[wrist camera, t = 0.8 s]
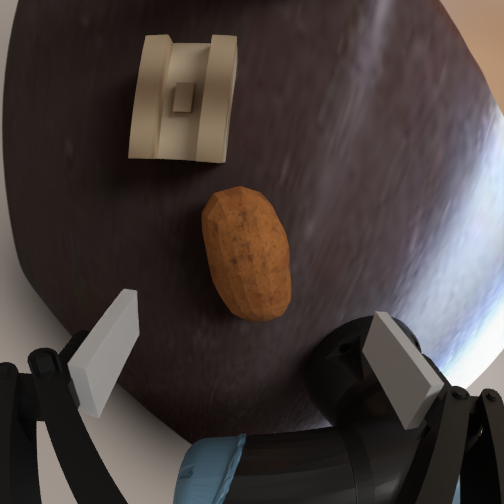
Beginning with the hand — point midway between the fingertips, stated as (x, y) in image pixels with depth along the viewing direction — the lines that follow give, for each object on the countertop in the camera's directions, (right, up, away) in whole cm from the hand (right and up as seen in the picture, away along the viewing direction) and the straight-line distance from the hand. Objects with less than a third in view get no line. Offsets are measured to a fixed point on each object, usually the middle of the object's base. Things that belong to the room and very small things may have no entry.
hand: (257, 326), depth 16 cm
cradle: (-6, +17, +10) cm, 21 cm away
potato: (-1, +4, +14) cm, 15 cm away
